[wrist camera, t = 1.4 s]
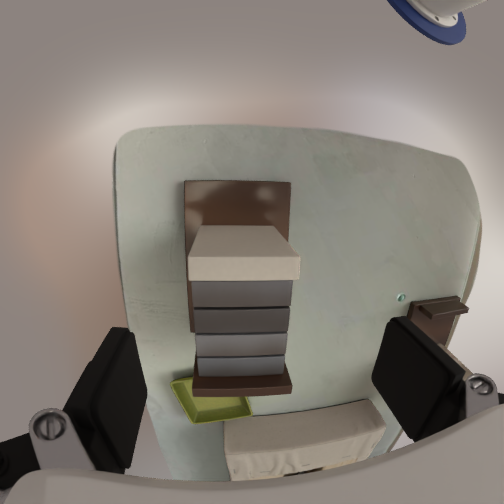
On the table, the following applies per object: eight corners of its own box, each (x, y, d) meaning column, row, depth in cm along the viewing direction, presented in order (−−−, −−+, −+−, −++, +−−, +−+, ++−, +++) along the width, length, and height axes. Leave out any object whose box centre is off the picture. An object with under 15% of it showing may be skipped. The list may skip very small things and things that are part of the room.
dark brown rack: (410, 301, 33) (461, 343, 22) (456, 295, 34) (504, 328, 23) (385, 381, 37) (418, 428, 26) (431, 369, 38) (465, 407, 27)
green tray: (192, 414, 35) (191, 425, 33) (170, 372, 32) (168, 382, 30) (252, 405, 35) (253, 415, 33) (237, 360, 32) (238, 371, 30)
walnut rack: (185, 180, 26) (160, 187, 15) (288, 182, 27) (328, 190, 16) (191, 327, 30) (180, 396, 20) (279, 326, 31) (303, 392, 21)
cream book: (200, 225, 26) (187, 256, 17) (273, 225, 27) (301, 256, 18) (200, 241, 27) (188, 281, 17) (273, 241, 28) (299, 280, 18)
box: (334, 480, 46) (371, 395, 37) (342, 505, 39) (390, 429, 30) (233, 493, 45) (220, 414, 35) (235, 520, 37) (220, 457, 28)
